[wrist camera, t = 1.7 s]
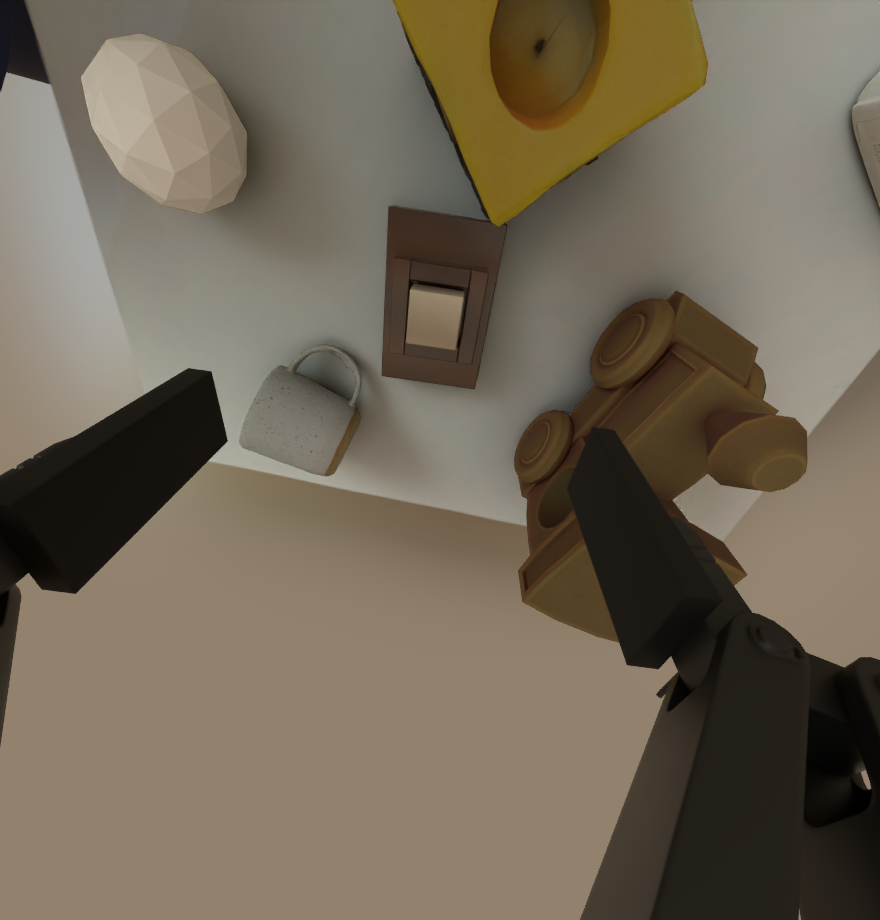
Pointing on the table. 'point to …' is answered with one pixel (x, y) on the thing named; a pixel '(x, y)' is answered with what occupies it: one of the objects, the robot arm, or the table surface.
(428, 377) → the brown stepped block
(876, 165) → the photo printer
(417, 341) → the beige square block
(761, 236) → the table surface
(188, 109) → the geometric ball
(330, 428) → the ceramic mug
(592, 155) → the candle
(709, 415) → the wooden toy train
